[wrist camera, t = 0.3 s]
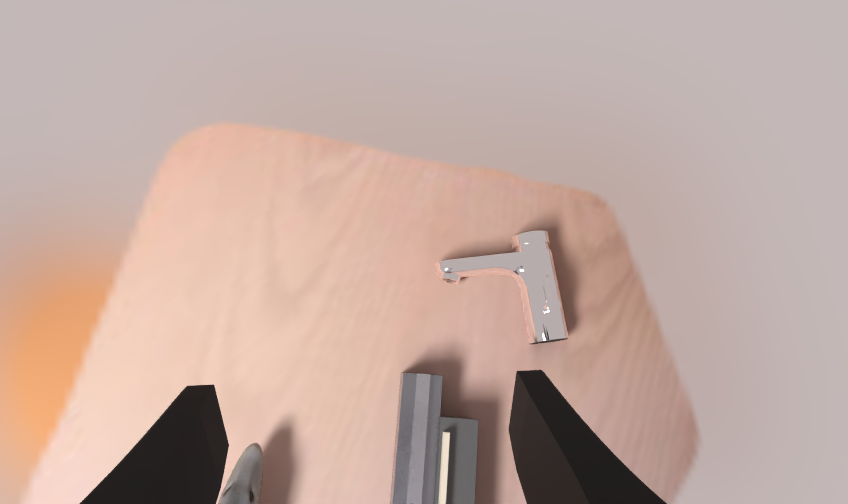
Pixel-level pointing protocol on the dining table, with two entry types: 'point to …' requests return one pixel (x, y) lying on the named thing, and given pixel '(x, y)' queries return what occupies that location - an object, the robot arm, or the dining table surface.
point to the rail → (417, 439)
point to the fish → (245, 478)
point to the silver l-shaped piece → (521, 282)
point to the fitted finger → (456, 461)
